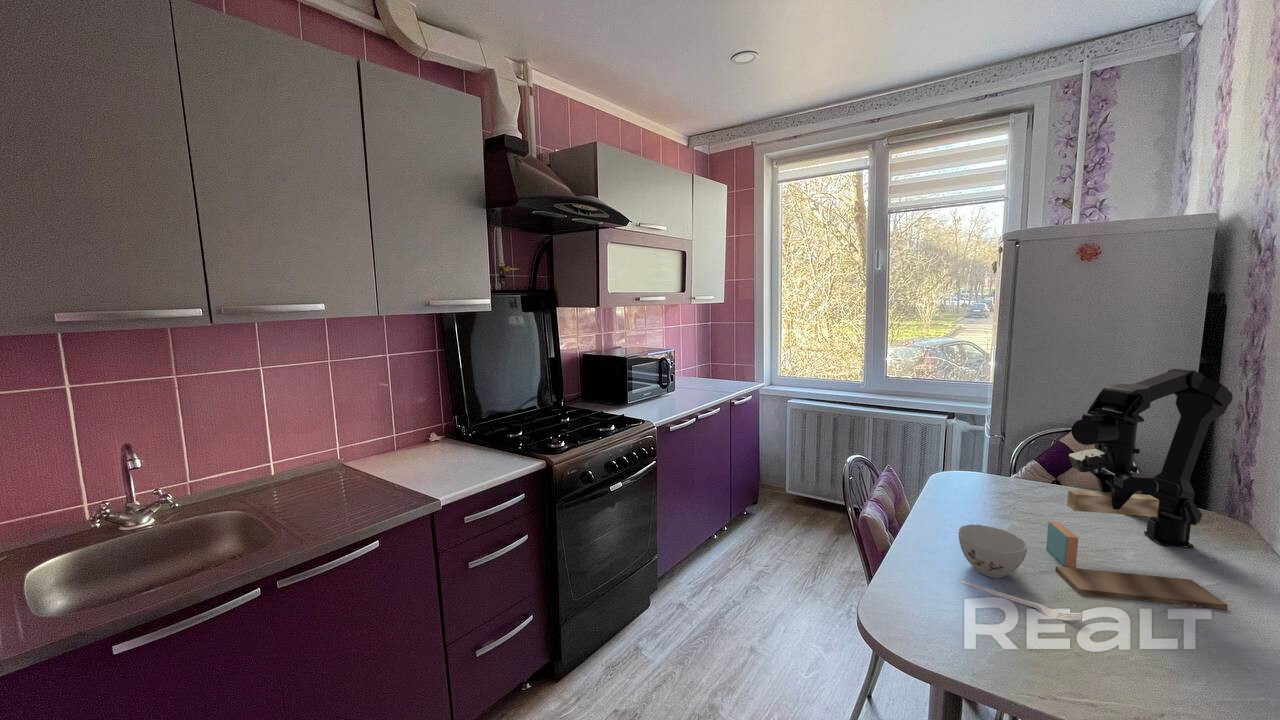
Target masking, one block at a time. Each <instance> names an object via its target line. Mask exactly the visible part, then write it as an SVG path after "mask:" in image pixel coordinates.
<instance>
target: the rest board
mask: <svg viewBox="0 0 1280 720" xmlns="http://www.w3.org/2000/svg"><path fill="white" fill-rule="evenodd" d="M1054 569H1055V572H1056V573H1057V574H1058V575H1059V576H1060V577H1061V578H1062V579H1064V581H1066V583H1067V584H1068V585H1069V586H1071V588H1073V589H1074V591H1075V592H1077V594H1080V595H1091V596H1100V597H1108V598H1117V599H1126V600H1127V599H1128V600H1137V601H1144V600H1146V601H1144V602H1152V601H1157V602H1156V603H1163V604H1171V603H1173V604H1172V605H1180V604H1187V605H1186V606H1189V605H1196V606H1195V607H1198V606H1202V607H1201V608H1207V607H1209V608H1208V609H1218V610H1225V611H1227V610H1228V606H1229V605H1228V604H1227V603H1226V602H1224V601H1223V600H1222V599H1221V598H1218V597H1217V596H1216V595H1215V594H1213V593H1211V592H1210V591H1209V590H1207V589H1206V588H1204V587H1203V586H1201V585H1200V584H1198V583H1197V582H1196V581H1194V580H1193V579H1189V578H1179V577H1168V576H1158V575H1148V574H1139V573H1138V574H1137V573H1129V572H1121V571H1119V572H1118V571H1108V570H1098V569H1090V568H1089V569H1088V568H1079V567H1066V566H1055V567H1054ZM1147 600H1148V601H1147ZM1174 603H1176V604H1174Z"/></svg>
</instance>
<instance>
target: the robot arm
mask: <svg viewBox="0 0 1280 720" xmlns="http://www.w3.org/2000/svg"><path fill="white" fill-rule="evenodd" d="M1171 395H1173V396H1175V397H1176V400H1175V406H1176V408H1177V411H1178V413H1179V415H1180V417H1179V420H1178V423H1177V426H1176V429H1175V432H1174V434H1173V437H1172V440H1171V442H1170V446H1169V448H1168V451H1167V454H1166V456H1165V458H1164V459H1165V460H1164V463H1163V465H1162V468H1161V470H1160V472H1159V473H1157V474H1156V475H1155V476H1150V475H1148V474H1146V473H1144V472H1138V471H1139V467H1138V466H1136V465H1135V464H1134V460H1135V454H1139V455H1140V452H1141V451H1140V450H1141V449H1140V448H1138V447H1136V442H1137V441H1136V440H1137V432H1138V423H1144V422H1145V418H1144V417H1143V416H1141V415H1140V414H1141V413H1143V412H1145V411H1146V410H1148V409H1149V408H1151V405H1152V403H1153V402H1154V401H1157V400H1160V399H1162V398H1165V397H1168V396H1171ZM1232 401H1233V393H1232V391H1230V390H1229V389H1228V388H1227V386H1225V385H1224V384H1222V383H1220V382H1218V381H1215V380H1214V379H1211V378H1209V377H1206V376H1205V375H1203V374H1202V373H1201V372H1200V371H1197V370H1193V369H1184V368H1170V369H1169V370H1167V372H1164V373H1160V374H1158V375H1155V376H1153V377H1150V378H1149V377H1148V378H1147V379H1144V380H1141V381H1138V382H1135V383H1117V384H1109V385H1106V386H1104V387H1103V388H1101V391H1100V392H1099V394H1098V395H1097V396H1096V397H1095V399H1094V401H1093V402H1092V404H1091V405H1090V407H1089V408H1088V410H1087V413H1082V416H1081V419H1078V420H1077V421H1075V422H1074V423H1073V424H1072V426H1071V429H1070V430H1071V435H1072V437H1073V439H1074V440H1075V441H1076V442H1077V443H1079V444H1080V445H1084V446H1091V445H1092V446H1093V445H1094V448H1092V449H1084V450H1081V451H1076V452H1072V453H1069V454H1068V458H1069V461H1070V463H1071V466H1072V468H1073V469H1076V470H1078V471H1079V472H1080V473H1090V474H1091V475H1092V476H1093V477H1094V478H1095V479H1096V480H1097V484H1098V486H1099V489H1100V492H1111V493H1112V506H1113V509H1115V510H1119V509H1120V508H1121V507H1122V506H1123V505H1124V504H1125V503H1126V502H1127V501H1128V499H1129V498H1130V497H1131V496H1132V495H1133V494H1134V493H1135V492H1137V491H1142V492H1141V494H1142V495H1151V496H1153V497H1155V498H1156V499H1158V500H1159V507H1158V516H1157V517H1151V516H1149V518H1148V519H1147V523H1146V530H1145V531H1143V534H1144V533H1145V534H1146V535H1145V534H1144V535H1145V536H1147V535H1148V536H1149V537H1148V536H1147V537H1148V538H1150V537H1151V540H1153V539H1154V540H1153V541H1155V542H1156V541H1157V542H1156V543H1158V542H1159V543H1160V544H1159V543H1158V544H1159V545H1161V544H1162V546H1169V545H1173V546H1172V547H1181V546H1187V547H1186V548H1192V547H1193V548H1195V545H1194V544H1192V543H1191V542H1190V534H1191V527H1192V525H1193V526H1197V525H1198V523H1200V522H1201V521H1202V517H1203V513H1202V512H1201V510H1200V509H1199V508H1198V506H1197V505H1196V503H1195V502H1194V501H1195V496H1196V492H1195V491H1194V488H1193V486H1192V483H1191V481H1190V480H1191V477H1192V475H1193V471H1194V470H1195V469H1194V468H1195V466H1196V464H1197V461H1198V458H1199V455H1200V451H1201V450H1202V447H1203V444H1204V441H1205V438H1206V435H1207V432H1208V430H1209V427H1210V425H1211V423H1212V422H1214V421H1215V420H1217V419H1218V418H1220V417H1221V416H1223V415H1225V413H1226V411H1227V409H1228V407H1229V405H1230V404H1231V403H1232ZM1132 472H1135V473H1132Z"/></svg>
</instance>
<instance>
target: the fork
mask: <svg viewBox="0 0 1280 720" xmlns="http://www.w3.org/2000/svg"><path fill="white" fill-rule="evenodd" d="M959 583H961V584H964V585H967V586H970V587H972V588H975V589H978V590H980V591H983V592H986V593H989V594H993V595H994V596H998V597H1000V598H1004V599H1006V600H1009V599H1010V601H1012V602H1015V603H1019V604H1022V605H1025V606H1028V607H1030V608H1034V609H1037V610H1038V611H1039V612H1040V613H1041V614H1043V615H1045V616H1047V617H1050V618H1052V619H1055V620H1059V621H1061V622H1073V621H1080V620H1082V619H1083V618H1084V614H1085V613H1084V612H1081V613H1077V612H1075V613H1073V612H1063V611H1059V610H1054V609H1052V608H1049V607H1048V606H1045V605H1043V604H1041V603H1037V602H1034V601H1032V600H1027V599H1025V598H1021V597H1017V596H1014V595H1010V594H1008V593H1004V592H1001V591H998V590H994V589H990V588H986V587H984V586H980V585H977V584H974V583H969V582H967V581H963V580H960V581H959Z"/></svg>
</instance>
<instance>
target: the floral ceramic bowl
mask: <svg viewBox="0 0 1280 720" xmlns="http://www.w3.org/2000/svg"><path fill="white" fill-rule="evenodd" d="M958 540H959V541H958V542H959V545H960V549H961V551H962V554H963V555H964V558H965V559H966V561H968V563H969V564H970V565H971V566H972V567H973V569H974V570H975V571H976V572H978V573H979V574H981V575H984V576H987V577H990V578H995V579H999V578H1004V577H1006V575H1009V574H1011V573H1013V572H1015V571H1016V570H1017V569H1018V568H1019V567H1020V566H1021V565H1022V563H1023V562H1024V561H1025V557H1026V555H1027V553H1028V543H1027V542H1026V541H1025V540H1024V539H1023V538H1021V537H1019V536H1017V535H1015V534H1014V533H1013V532H1010V531H1007V530H1005V529H1003V528H997V527H994V526H986V525H983V524H967V525H966V524H965V525H962V526H961V527H959V528H958Z"/></svg>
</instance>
